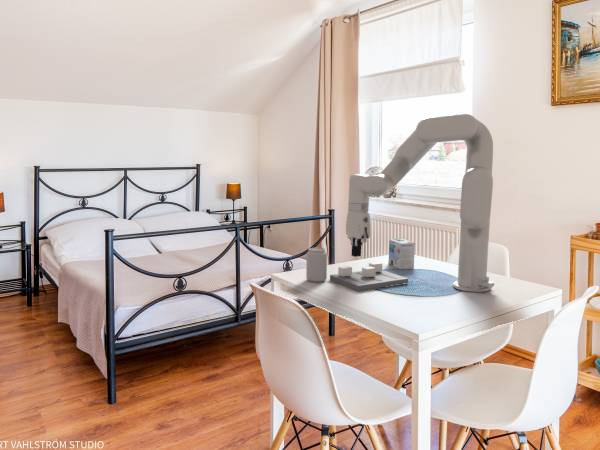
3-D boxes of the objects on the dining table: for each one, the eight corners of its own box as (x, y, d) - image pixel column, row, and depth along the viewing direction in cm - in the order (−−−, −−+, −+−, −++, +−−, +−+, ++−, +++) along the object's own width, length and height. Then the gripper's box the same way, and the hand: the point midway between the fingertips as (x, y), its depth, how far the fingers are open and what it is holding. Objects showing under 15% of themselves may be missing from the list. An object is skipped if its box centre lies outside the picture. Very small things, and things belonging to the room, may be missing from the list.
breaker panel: (408, 283, 189) (408, 269, 188) (358, 291, 178) (358, 276, 177) (377, 273, 204) (377, 260, 204) (329, 280, 194) (330, 266, 193)
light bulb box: (387, 264, 222) (388, 239, 220) (402, 263, 224) (402, 238, 222) (399, 269, 212) (400, 243, 210) (414, 268, 214) (415, 242, 212)
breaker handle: (375, 276, 191) (375, 268, 190) (366, 277, 189) (366, 269, 188) (370, 274, 193) (370, 266, 193) (361, 275, 191) (361, 267, 191)
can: (315, 284, 188) (315, 251, 186) (302, 280, 194) (302, 248, 192) (330, 280, 193) (331, 249, 191) (317, 277, 198) (317, 246, 197)
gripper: (378, 209, 189) (376, 259, 192) (354, 205, 202) (352, 251, 205) (362, 210, 185) (359, 260, 188) (338, 205, 198) (336, 253, 201)
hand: (356, 255), depth 196 cm, fingers closed
